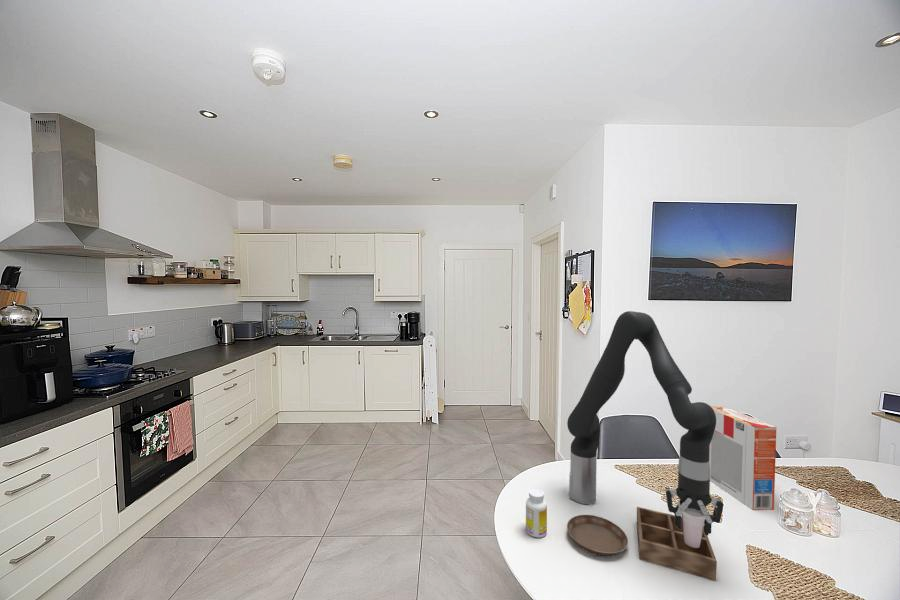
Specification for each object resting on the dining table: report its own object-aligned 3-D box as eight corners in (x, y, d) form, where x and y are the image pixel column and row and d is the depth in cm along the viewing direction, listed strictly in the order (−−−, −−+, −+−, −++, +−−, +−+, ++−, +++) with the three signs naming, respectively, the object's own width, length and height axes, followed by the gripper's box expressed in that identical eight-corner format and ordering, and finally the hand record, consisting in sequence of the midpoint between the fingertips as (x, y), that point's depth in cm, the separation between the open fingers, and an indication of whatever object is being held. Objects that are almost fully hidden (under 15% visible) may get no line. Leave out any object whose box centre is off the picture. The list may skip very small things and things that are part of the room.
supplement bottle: (547, 527, 119) (548, 489, 119) (546, 540, 113) (546, 500, 113) (527, 523, 122) (527, 485, 121) (524, 535, 115) (524, 496, 115)
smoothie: (710, 553, 100) (711, 503, 100) (684, 549, 102) (685, 500, 101) (699, 537, 107) (700, 490, 106) (675, 534, 108) (676, 488, 108)
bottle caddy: (639, 559, 106) (639, 540, 105) (636, 522, 122) (636, 506, 122) (716, 580, 98) (716, 561, 98) (701, 538, 115) (702, 521, 114)
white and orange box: (773, 509, 130) (776, 427, 129) (752, 510, 130) (754, 427, 129) (722, 476, 153) (724, 406, 152) (704, 477, 153) (705, 406, 152)
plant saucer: (626, 532, 118) (627, 522, 118) (628, 570, 102) (629, 559, 102) (570, 517, 125) (570, 509, 125) (563, 551, 109) (563, 541, 109)
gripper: (666, 473, 103) (665, 531, 104) (728, 484, 97) (726, 546, 98) (663, 461, 110) (662, 516, 110) (721, 472, 104) (719, 529, 104)
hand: (692, 530), depth 104 cm, fingers closed on smoothie, 6 cm apart
